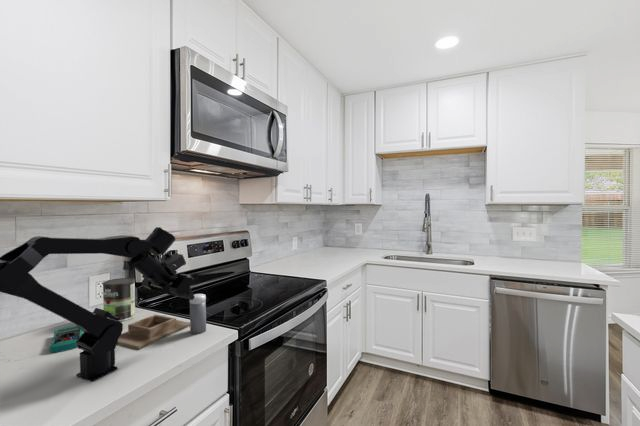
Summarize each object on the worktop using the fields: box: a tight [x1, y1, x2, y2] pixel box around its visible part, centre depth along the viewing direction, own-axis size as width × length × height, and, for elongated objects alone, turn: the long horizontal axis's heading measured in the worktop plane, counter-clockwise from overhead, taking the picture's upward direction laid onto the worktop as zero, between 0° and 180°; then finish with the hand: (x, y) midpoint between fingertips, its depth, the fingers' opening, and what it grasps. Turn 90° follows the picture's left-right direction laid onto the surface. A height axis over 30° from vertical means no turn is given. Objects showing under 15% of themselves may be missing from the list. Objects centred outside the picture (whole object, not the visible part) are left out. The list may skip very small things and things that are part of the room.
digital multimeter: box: [49, 325, 84, 354], centre depth 97 cm, size 7×15×3 cm, turn 36°
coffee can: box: [102, 277, 136, 323], centre depth 118 cm, size 10×10×14 cm
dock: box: [117, 314, 190, 351], centre depth 104 cm, size 20×14×4 cm
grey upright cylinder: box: [189, 293, 207, 335], centre depth 105 cm, size 5×5×12 cm
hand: (184, 296), depth 101 cm, fingers open, 9 cm apart
